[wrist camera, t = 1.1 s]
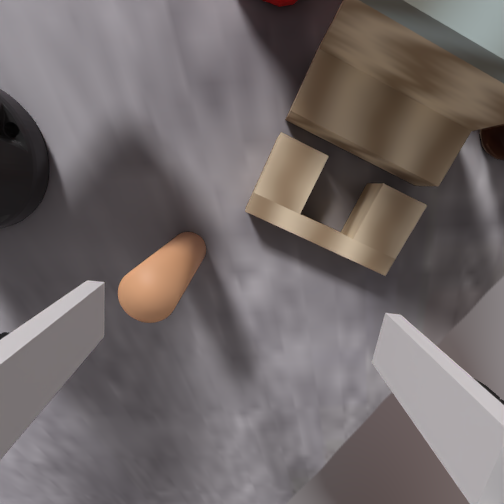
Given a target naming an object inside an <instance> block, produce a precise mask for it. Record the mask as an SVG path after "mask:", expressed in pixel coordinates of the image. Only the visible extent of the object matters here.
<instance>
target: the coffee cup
mask: <svg viewBox="0 0 504 504" xmlns="http://www.w3.org/2000/svg"><path fill="white" fill-rule="evenodd" d="M480 136H481V142H482V146H483V148H484V149H485V151H486V152H487V153H488V154H490V155H491V156H493V157H494V158H496V159H501V160H504V124H501V125H497V126H492V127H488V128H483V129H480Z"/></svg>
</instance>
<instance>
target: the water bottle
mask: <svg viewBox="0 0 504 504" xmlns="http://www.w3.org/2000/svg"><path fill="white" fill-rule="evenodd" d="M263 1H266V2H268V3H271V4H273V5H276V6H279V7H281V6H287V5H293V4H294V3H295V2H297V1H298V0H263Z"/></svg>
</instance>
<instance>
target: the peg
mask: <svg viewBox="0 0 504 504" xmlns="http://www.w3.org/2000/svg"><path fill="white" fill-rule="evenodd" d="M205 254H206V245H205V242H204V240H203V239H202V238H201V237H200V236H199V235H197V234H196V233H193V232H183V233H181V234H179V235H177V236H176V237H175V238H173V239H172V240H171V241H169V242H168V243H167V244H165V245H164V246H163V247H162V248H160V249H159V250H158V251H156V252H155V253H154V254H152V255H151V256H150V257H148V258H147V259H146V260H144V261H143V262H142V263H141V264H139V265H138V266H137V267H135V268H134V269H133V270H131V271H130V272H129V273H127V274H126V275H125V276H124V277H123V279H122V280H121V282H120V284H119V287H118V299H119V302H120V304H121V306H122V308H123V309H124V311H125V312H126V313H127V314H128V315H129V316H131V317H132V318H134V319H136V320H138V321H141V322H146V323H154V322H158V321H161V320H164V319H165V318H167V317H168V316H169V315H170V314H171V313H172V312H173V310H174V309H175V307H176V305H177V304H178V302H179V300H180V298H181V297H182V295H183V293H184V291H185V290H186V288H187V286H188V285H189V283H190V281H191V279H192V278H193V276H194V274H195V273H196V271H197V269H198V267H199V266H200V264H201V262H202V260H203V259H204V257H205Z"/></svg>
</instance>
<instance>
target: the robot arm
mask: <svg viewBox="0 0 504 504" xmlns="http://www.w3.org/2000/svg"><path fill="white" fill-rule="evenodd" d="M48 178H49V161H48V155H47V150H46V146H45V143H44V140H43V138H42V136H41V133H40V131H39V129H38V127H37V126H36V124H35V122H34V121H33V119H32V118H31V117H30V115H29V114H28V113H27V112H26V110H25V109H24V108H23V107H22V106H21V105H20V104H19V103H18V102H17V101H16V100H15V99H13V98H12V97H11V96H10V95H8V94H7V93H5V92H4V91H2V90H1V89H0V228H1V227H6V226H10V225H13V224H15V223H17V222H19V221H21V220H23V219H24V218H26V217H27V216H29V215H30V214H31V213H32V212H33V211H34V210H35V209H36V207H37V206H38V205H39V203H40V202H41V200H42V198H43V196H44V193H45V191H46V188H47V184H48ZM104 337H105V282H99V281H89V280H87V281H85V282H84V283H82V284H81V285H80V286H78V287H77V288H75V289H74V290H72V291H71V292H69V293H68V294H66V295H65V296H64V297H62V298H61V299H59V300H58V301H56V302H55V303H53V304H52V305H50V306H49V307H47V308H46V309H45V310H43V311H42V312H40V313H39V314H37V315H36V316H34V317H33V318H31V319H30V320H28V321H27V322H26V323H24V324H23V325H21V326H20V327H18V328H17V329H15V330H14V331H12V332H11V333H6V332H4V333H2V334H0V460H1V459H2V457H3V456H4V455H5V454H6V453H7V451H8V450H9V449H10V448H11V447H12V446H13V444H14V443H15V442H16V441H17V440H18V438H19V437H20V436H21V435H22V434H23V433H24V431H25V430H26V429H27V428H28V427H29V425H30V424H31V423H32V422H33V421H34V420H35V418H36V417H37V416H38V415H39V414H40V412H41V411H42V410H43V409H44V408H45V406H46V405H47V404H48V403H49V402H50V401H51V399H52V398H53V397H54V396H55V395H56V393H57V392H58V391H59V390H60V389H61V388H62V386H63V385H64V384H65V383H66V382H67V380H68V379H69V378H70V377H71V376H72V375H73V373H74V372H75V371H76V370H77V369H78V367H79V366H80V365H81V364H82V363H83V361H84V360H85V359H86V358H87V357H88V356H89V354H90V353H91V352H92V351H93V350H94V348H95V347H96V346H97V345H98V344H99V343H100V341H101V340H102V339H103V338H104ZM372 364H373V365H374V366H375V368H376V369H377V371H378V372H379V374H380V375H381V377H382V378H383V379H384V381H385V382H386V384H387V385H388V387H389V388H390V389H391V391H392V392H393V394H394V395H395V397H396V398H397V399H398V401H399V402H400V404H401V405H402V407H403V408H404V410H405V411H406V412H407V414H408V415H409V417H410V418H411V420H412V421H413V423H414V424H415V425H416V427H417V428H418V430H419V431H420V433H421V434H422V435H423V437H424V438H425V440H426V441H427V443H428V444H429V445H430V447H431V448H432V450H433V451H434V453H435V454H436V456H437V457H438V458H439V460H440V461H441V463H442V464H443V466H444V467H445V468H446V470H447V471H448V473H449V474H450V476H451V477H452V479H453V480H454V481H455V483H456V484H457V486H458V487H459V489H460V490H461V492H462V493H463V494H464V496H465V497H466V499H467V500H468V501H469V503H470V504H504V401H503V400H501V399H500V398H499V397H498V396H497V395H496V394H495V393H494V392H493V391H492V390H490V389H489V388H488V387H487V386H486V385H484V384H482V383H481V382H479V381H477V380H476V379H474V378H473V377H471V376H470V375H469V374H468V373H467V372H466V371H464V370H463V369H462V368H461V367H460V366H458V364H456V363H455V362H454V361H453V360H452V359H451V358H449V357H448V356H447V355H446V354H445V353H444V352H443V351H441V350H440V349H439V348H438V347H437V346H436V345H435V344H434V343H432V342H431V341H430V340H429V339H428V338H427V337H426V336H424V335H423V334H422V333H421V332H420V331H419V330H418V329H416V328H415V327H414V326H413V325H412V324H411V323H410V322H409V321H407V320H406V319H405V318H404V317H403V316H402V315H400V314H390V313H385V316H384V320H383V324H382V327H381V331H380V334H379V338H378V342H377V345H376V349H375V353H374V356H373V360H372Z"/></svg>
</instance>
